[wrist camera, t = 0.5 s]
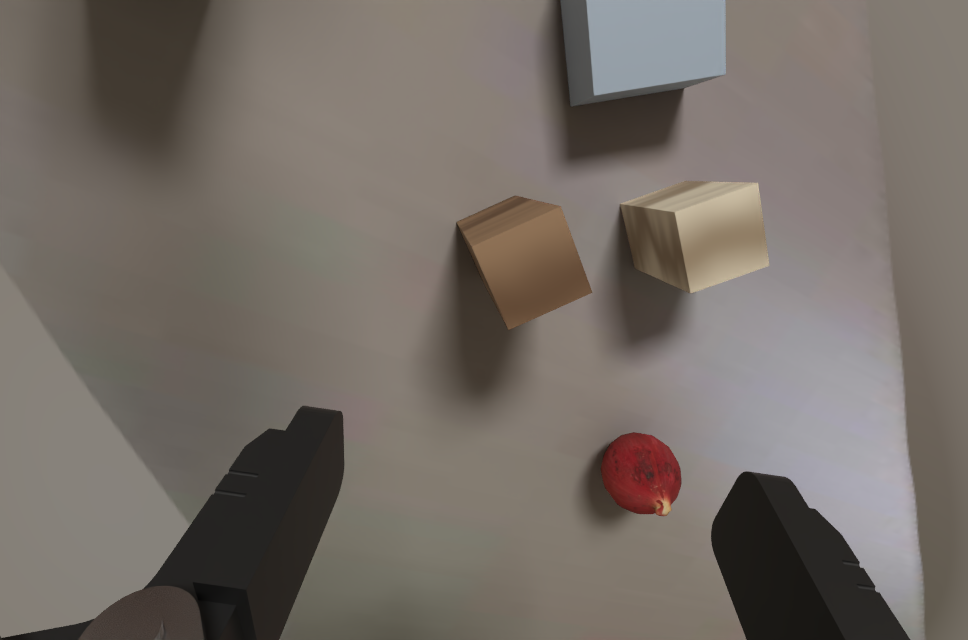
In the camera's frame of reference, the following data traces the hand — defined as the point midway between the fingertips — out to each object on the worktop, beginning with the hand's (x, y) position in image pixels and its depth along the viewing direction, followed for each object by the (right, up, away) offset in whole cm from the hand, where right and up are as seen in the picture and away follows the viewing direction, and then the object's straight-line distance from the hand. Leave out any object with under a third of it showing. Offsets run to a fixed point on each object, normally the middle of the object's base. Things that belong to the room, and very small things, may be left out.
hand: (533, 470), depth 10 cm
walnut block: (0, +9, +25) cm, 26 cm away
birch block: (+12, +10, +26) cm, 30 cm away
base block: (+8, +22, +22) cm, 32 cm away
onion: (+11, -8, +31) cm, 34 cm away
